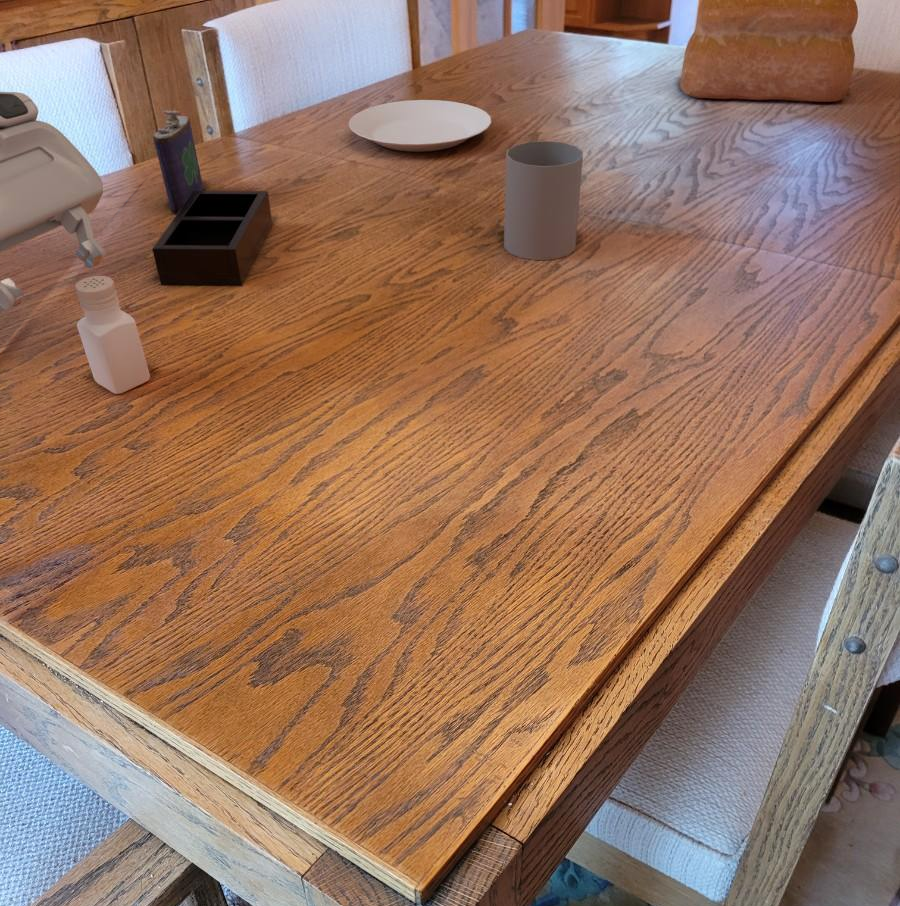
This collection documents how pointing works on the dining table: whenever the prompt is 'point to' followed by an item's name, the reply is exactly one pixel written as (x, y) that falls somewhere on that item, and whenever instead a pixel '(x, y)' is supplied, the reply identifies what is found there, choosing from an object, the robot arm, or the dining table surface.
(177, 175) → the flask
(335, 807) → the dining table surface
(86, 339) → the salt shaker
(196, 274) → the box
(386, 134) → the plate
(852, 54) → the bread
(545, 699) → the dining table surface
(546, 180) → the cup
